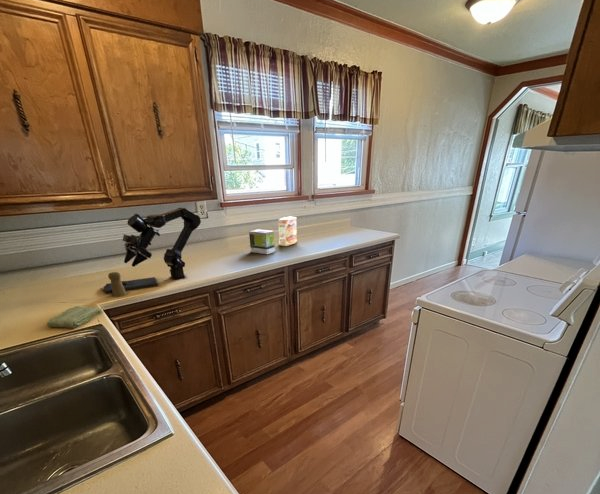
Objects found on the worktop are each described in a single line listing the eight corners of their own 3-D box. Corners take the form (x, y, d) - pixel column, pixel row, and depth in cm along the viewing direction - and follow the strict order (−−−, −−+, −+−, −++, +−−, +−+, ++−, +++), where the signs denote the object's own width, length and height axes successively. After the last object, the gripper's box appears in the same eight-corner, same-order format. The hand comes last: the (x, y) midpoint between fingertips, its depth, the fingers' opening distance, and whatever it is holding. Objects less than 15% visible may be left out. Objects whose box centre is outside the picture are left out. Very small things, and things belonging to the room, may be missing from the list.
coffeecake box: (286, 246, 248) (285, 219, 239) (278, 245, 252) (277, 218, 243) (297, 242, 260) (296, 216, 250) (289, 241, 263) (289, 216, 254)
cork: (120, 296, 157) (114, 274, 152) (110, 296, 158) (103, 274, 153) (129, 292, 163) (123, 271, 157) (118, 291, 164) (112, 270, 159)
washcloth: (104, 311, 142) (102, 304, 141) (76, 329, 127) (73, 322, 125) (76, 310, 143) (73, 303, 142) (44, 328, 128) (41, 321, 126)
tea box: (275, 251, 233) (274, 230, 226) (266, 254, 226) (265, 233, 219) (259, 249, 241) (257, 228, 234) (250, 252, 233) (248, 231, 226)
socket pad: (155, 279, 181) (154, 276, 180) (157, 286, 170) (157, 283, 169) (104, 286, 171) (103, 283, 171) (103, 294, 160) (102, 291, 160)
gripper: (123, 225, 160) (105, 251, 159) (139, 229, 149) (120, 258, 147) (142, 239, 169) (126, 264, 167) (159, 244, 158) (142, 271, 156)
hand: (128, 264), depth 159 cm, fingers open, 9 cm apart
